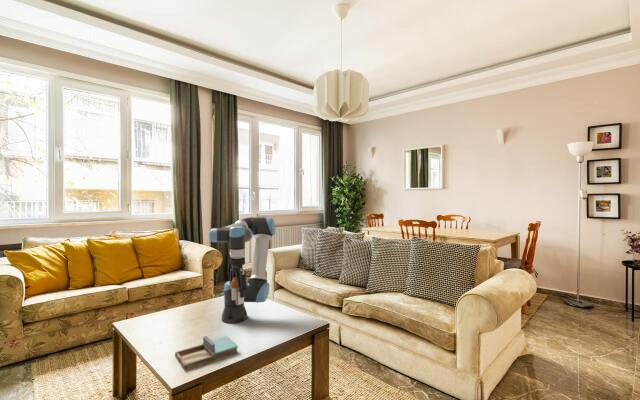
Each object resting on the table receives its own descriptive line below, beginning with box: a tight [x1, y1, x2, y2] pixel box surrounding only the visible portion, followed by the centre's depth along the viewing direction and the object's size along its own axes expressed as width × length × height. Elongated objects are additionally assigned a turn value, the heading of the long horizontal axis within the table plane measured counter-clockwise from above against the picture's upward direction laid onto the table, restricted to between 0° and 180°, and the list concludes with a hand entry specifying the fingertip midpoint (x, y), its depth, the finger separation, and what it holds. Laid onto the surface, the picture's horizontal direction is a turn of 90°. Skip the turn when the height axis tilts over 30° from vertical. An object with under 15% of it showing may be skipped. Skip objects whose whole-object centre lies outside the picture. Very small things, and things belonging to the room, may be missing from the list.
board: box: [174, 343, 238, 371], centre depth 154 cm, size 15×24×2 cm, turn 128°
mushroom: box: [230, 277, 241, 305], centre depth 166 cm, size 8×8×15 cm
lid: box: [202, 335, 239, 355], centre depth 158 cm, size 14×12×4 cm
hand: (237, 301), depth 166 cm, fingers closed on mushroom, 7 cm apart
